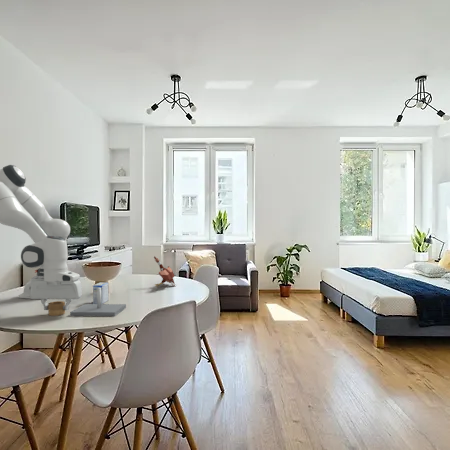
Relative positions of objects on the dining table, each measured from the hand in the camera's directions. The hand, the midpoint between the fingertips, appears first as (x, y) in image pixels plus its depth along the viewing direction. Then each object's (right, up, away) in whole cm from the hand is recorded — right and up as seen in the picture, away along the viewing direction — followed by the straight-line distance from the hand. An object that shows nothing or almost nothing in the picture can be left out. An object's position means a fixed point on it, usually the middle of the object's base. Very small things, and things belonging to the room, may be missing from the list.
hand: (56, 309), depth 146 cm
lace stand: (+16, -2, +3) cm, 17 cm away
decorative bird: (+34, -1, +62) cm, 70 cm away
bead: (0, -2, 0) cm, 2 cm away
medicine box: (+11, -2, +21) cm, 23 cm away
